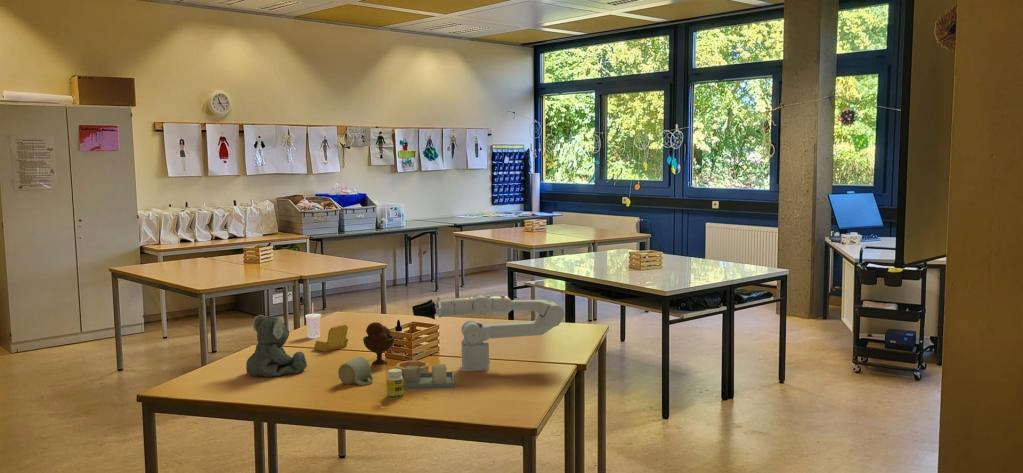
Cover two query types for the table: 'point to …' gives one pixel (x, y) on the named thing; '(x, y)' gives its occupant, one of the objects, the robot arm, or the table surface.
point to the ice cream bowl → (378, 341)
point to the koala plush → (273, 350)
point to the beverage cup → (313, 324)
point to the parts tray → (430, 382)
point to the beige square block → (412, 375)
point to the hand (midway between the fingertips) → (412, 310)
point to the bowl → (423, 365)
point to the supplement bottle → (394, 384)
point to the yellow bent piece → (334, 339)
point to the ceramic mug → (355, 372)
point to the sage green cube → (439, 373)
